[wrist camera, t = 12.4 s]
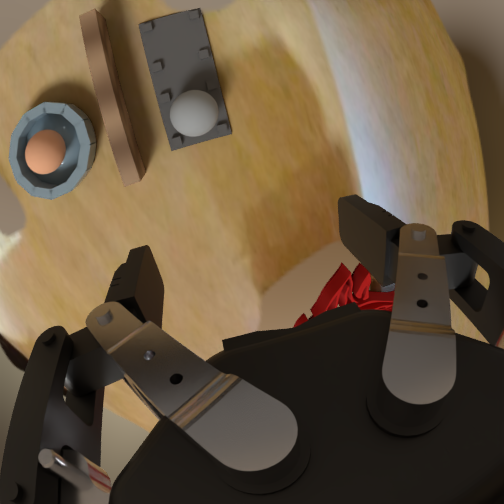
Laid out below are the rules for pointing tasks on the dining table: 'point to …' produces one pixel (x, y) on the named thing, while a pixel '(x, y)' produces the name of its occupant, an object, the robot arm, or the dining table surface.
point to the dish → (76, 140)
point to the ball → (45, 151)
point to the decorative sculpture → (349, 293)
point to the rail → (111, 97)
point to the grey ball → (194, 113)
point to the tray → (182, 69)
